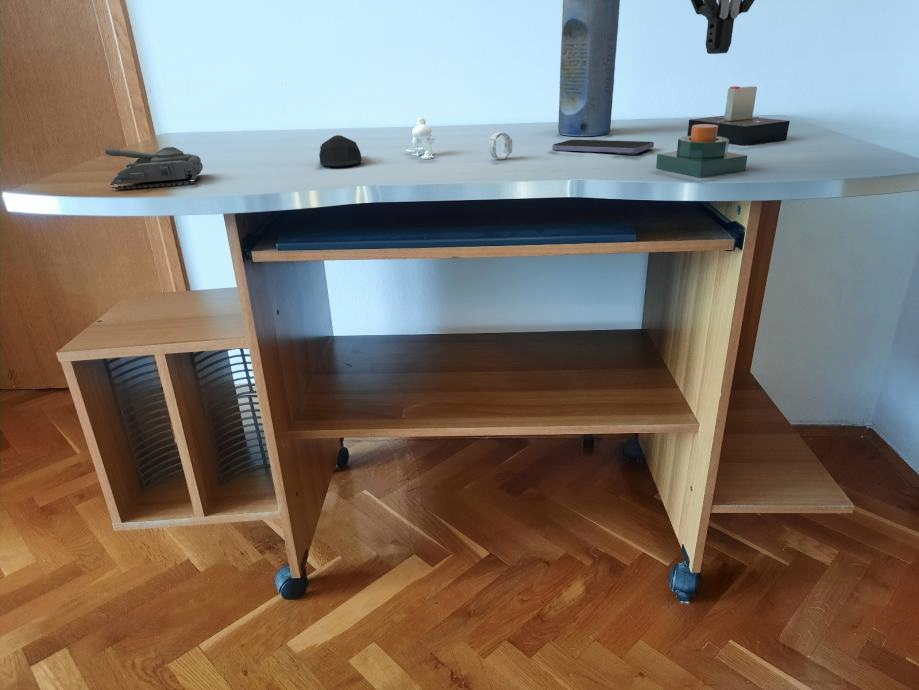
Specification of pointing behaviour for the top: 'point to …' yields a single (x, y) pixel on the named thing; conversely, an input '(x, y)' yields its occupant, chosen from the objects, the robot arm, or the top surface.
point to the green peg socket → (701, 158)
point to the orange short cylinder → (704, 132)
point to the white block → (740, 103)
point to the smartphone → (604, 146)
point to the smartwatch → (506, 145)
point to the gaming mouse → (339, 152)
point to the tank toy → (156, 168)
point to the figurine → (422, 138)
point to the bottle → (587, 66)
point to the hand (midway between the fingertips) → (717, 53)
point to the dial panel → (746, 129)
